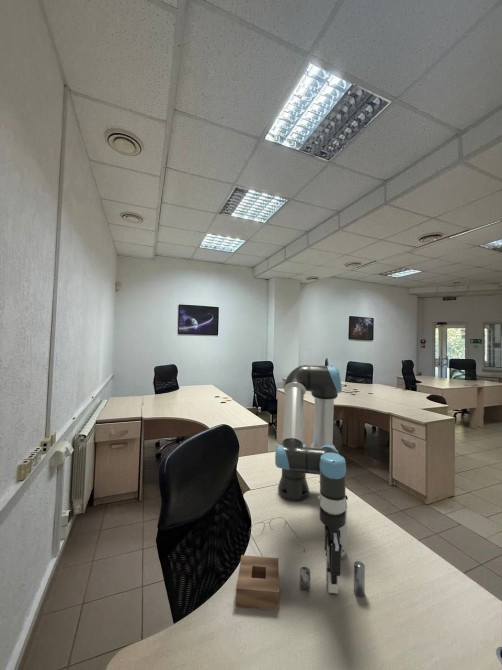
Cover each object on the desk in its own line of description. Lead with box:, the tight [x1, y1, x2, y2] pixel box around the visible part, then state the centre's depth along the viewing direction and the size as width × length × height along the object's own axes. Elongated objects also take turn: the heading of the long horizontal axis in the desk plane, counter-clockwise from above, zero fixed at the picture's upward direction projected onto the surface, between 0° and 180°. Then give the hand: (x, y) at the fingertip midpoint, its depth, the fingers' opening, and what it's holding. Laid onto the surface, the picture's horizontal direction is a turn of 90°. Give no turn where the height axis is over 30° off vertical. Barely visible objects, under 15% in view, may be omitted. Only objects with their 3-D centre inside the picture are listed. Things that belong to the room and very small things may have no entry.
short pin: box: [299, 566, 311, 593], centre depth 84 cm, size 3×3×5 cm
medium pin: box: [353, 560, 366, 598], centre depth 82 cm, size 3×3×8 cm
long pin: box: [326, 544, 337, 595], centre depth 83 cm, size 3×3×13 cm
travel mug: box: [338, 495, 349, 560], centre depth 98 cm, size 6×7×20 cm
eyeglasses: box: [248, 516, 306, 557], centre depth 101 cm, size 16×15×5 cm
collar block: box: [235, 554, 280, 611], centre depth 83 cm, size 12×12×5 cm
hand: (331, 586), depth 83 cm, fingers closed on long pin, 3 cm apart
